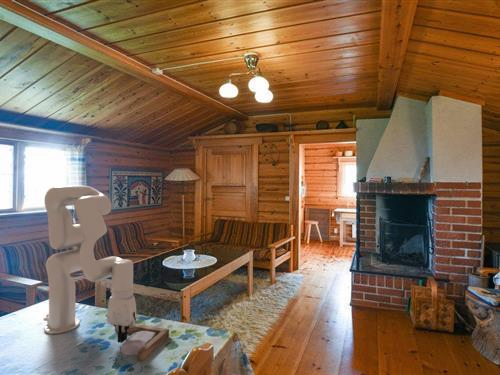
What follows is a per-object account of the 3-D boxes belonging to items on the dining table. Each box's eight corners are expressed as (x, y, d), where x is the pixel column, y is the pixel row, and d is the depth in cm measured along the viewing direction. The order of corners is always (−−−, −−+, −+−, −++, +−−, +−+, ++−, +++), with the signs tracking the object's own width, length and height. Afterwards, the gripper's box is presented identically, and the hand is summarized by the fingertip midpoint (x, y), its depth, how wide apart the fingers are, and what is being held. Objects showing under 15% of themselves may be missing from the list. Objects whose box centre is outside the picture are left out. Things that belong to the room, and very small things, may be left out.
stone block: (118, 360, 108) (145, 356, 107) (116, 346, 108) (142, 342, 107) (134, 343, 120) (158, 339, 119) (132, 331, 120) (156, 327, 119)
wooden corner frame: (86, 349, 111) (86, 341, 110) (118, 328, 127) (118, 321, 127) (143, 360, 104) (143, 352, 104) (168, 336, 120) (169, 329, 120)
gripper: (98, 294, 113) (98, 342, 113) (133, 299, 109) (132, 349, 109) (112, 287, 120) (112, 333, 120) (145, 291, 116) (145, 338, 116)
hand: (122, 340), depth 115 cm, fingers closed
